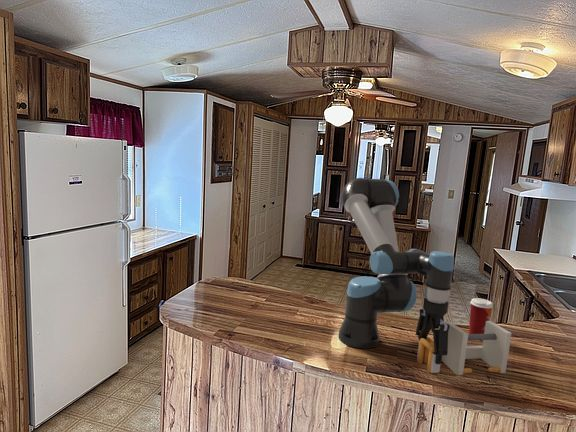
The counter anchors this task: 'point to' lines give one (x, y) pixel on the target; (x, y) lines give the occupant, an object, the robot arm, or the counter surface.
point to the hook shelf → (477, 348)
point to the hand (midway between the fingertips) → (427, 365)
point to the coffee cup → (479, 315)
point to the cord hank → (426, 352)
